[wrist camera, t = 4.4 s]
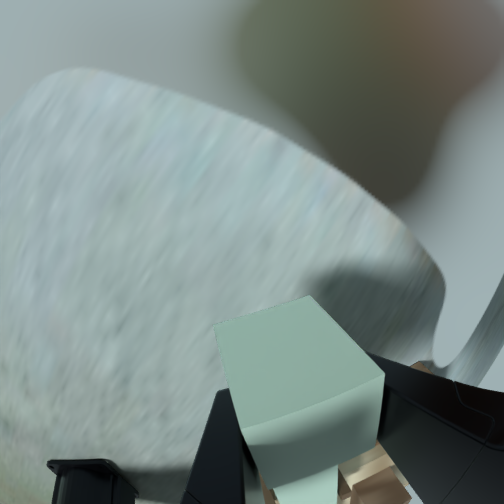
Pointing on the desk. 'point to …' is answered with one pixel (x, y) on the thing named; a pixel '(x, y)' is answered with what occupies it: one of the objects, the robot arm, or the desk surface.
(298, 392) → the key
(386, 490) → the lid
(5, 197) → the desk surface
